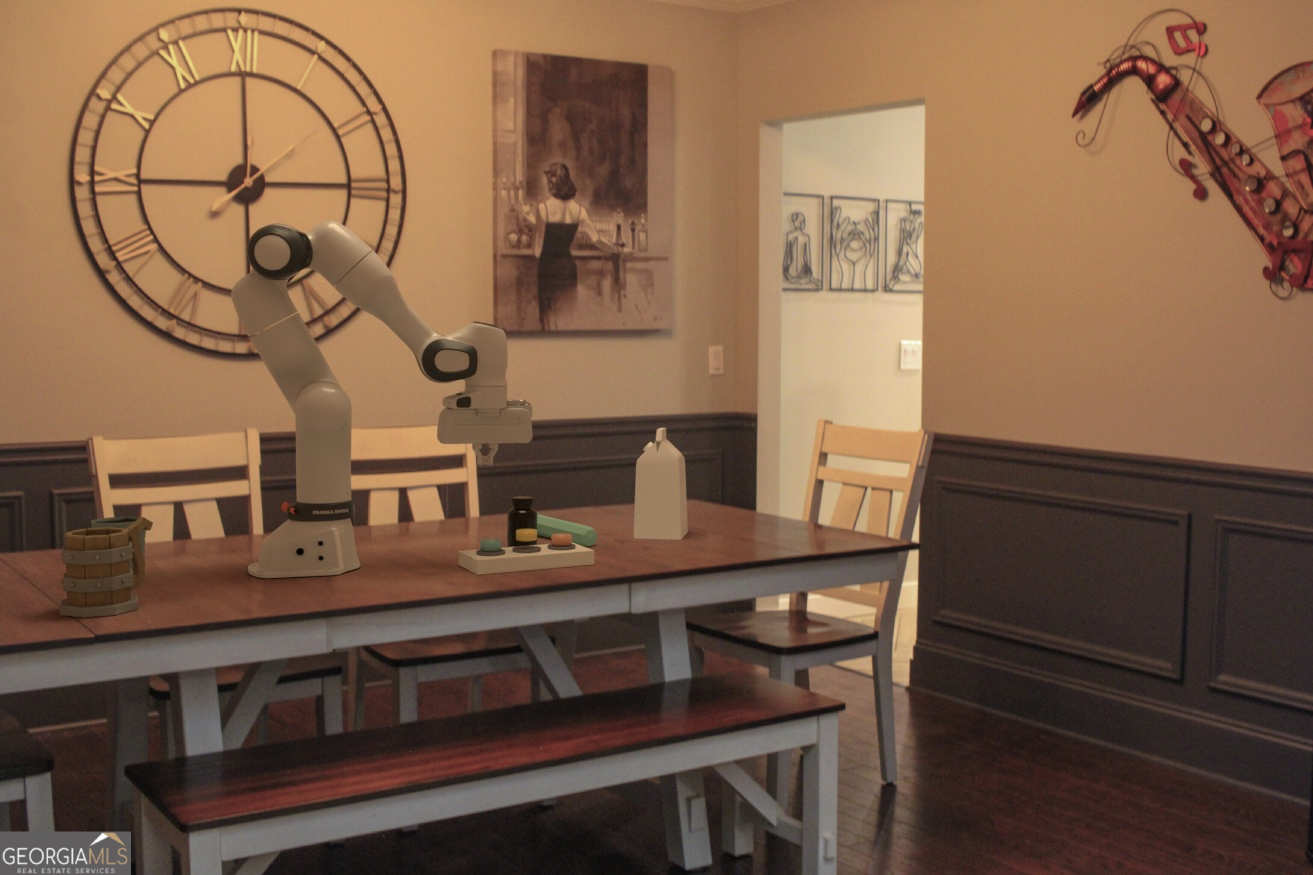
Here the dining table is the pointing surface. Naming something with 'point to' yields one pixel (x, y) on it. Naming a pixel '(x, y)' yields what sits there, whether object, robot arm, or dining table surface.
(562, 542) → the terracotta button
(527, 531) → the mustard button
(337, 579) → the dining table surface
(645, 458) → the milk
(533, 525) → the supplement bottle
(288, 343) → the robot arm
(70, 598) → the tankard
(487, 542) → the teal button
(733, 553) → the dining table surface
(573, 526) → the container
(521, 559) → the button panel
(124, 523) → the drinking glass
